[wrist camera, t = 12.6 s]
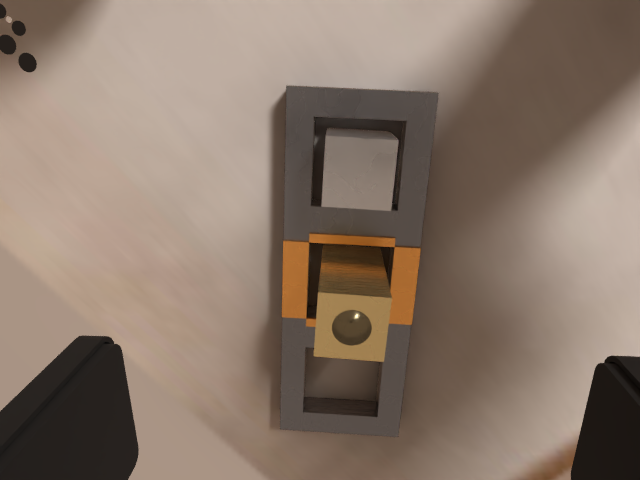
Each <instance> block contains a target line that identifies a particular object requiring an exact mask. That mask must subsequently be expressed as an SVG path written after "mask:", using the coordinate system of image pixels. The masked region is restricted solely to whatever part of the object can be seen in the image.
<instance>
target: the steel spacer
mask: <svg viewBox="0 0 640 480" xmlns="http://www.w3.org/2000/svg"><path fill="white" fill-rule="evenodd" d="M398 142H399V140H398V139H397V138H396V137H395V136H394V135H393V134H392V133H391V132H390V131H377V130H361V129H344V128H327V132H326V136H325V153H324V171H323V188H322V205H321V207H336V208H351V209H367V210H383V211H391V207H392V198H393V188H394V179H395V170H396V160H397V151H398Z"/></svg>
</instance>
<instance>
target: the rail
mask: <svg viewBox="0 0 640 480" xmlns="http://www.w3.org/2000/svg"><path fill="white" fill-rule="evenodd" d="M437 102H438V93H437V92H421V91H399V90H377V89H355V88H333V87H310V86H286V138H285V192H284V240H283V282H282V353H281V407H280V429H283V430H298V431H313V432H329V433H344V434H360V435H375V436H390V437H398V433H399V425H400V416H401V408H402V399H403V391H404V382H405V374H406V365H407V357H408V348H409V340H410V331H411V325H412V319H413V311H414V302H415V294H416V285H417V277H418V268H419V260H420V251H421V248H420V246H421V238H422V229H423V221H424V212H425V204H426V195H427V187H428V178H429V170H430V161H431V153H432V144H433V136H434V127H435V119H436V110H437ZM315 117H333V118H354V119H376V120H397V121H403V124H402V134H401V145H400V155H399V165H398V176H397V186H396V197H395V204H392V207H391V211H383V210H367V209H351V208H336V207H321V205H322V200H312V192H313V166H314V139H315ZM311 243H328V244H346V245H365V246H383V247H391V249H390V259H389V269H388V283H389V287H390V292H391V296H392V302H391V310H390V318H389V326H388V334H387V342H386V350H385V358H384V362H380V363H379V373H378V384H377V394H376V402H374V401H358V400H342V399H326V398H310V397H305V376H306V350H307V347H308V348H314V343H315V328H316V314H317V306H308V297H309V271H310V244H311Z"/></svg>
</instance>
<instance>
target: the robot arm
mask: <svg viewBox="0 0 640 480" xmlns="http://www.w3.org/2000/svg"><path fill="white" fill-rule="evenodd" d="M137 458H138V442H137V437H136V430H135V425H134V420H133V413H132V407H131V402H130V396H129V390H128V384H127V378H126V372H125V366H124V360H123V354H122V350H121V347H120V346H119V345H118V344H114V341H113V340H112V338H110V337H107V336H79V337H78V338H76V339H75V340H74V341H73V342H72V343H71V344H70V345H69V346H68V347H67V348H66V349H65V350H63V352H61V354H60V355H58V356H57V357H56V358H55V359H54V360H53V361H52V362H51V363H50V364H49V365H48V366H47V367H46V368H45V369H44V370H43V371H42V372H41V373H40V374H39V375H38V376H37V377H35V378H34V379H33V380H32V382H30V383H29V384H28V385H27V386H26V387H25V388H24V389H23V390H22V391H21V392H20V393H19V394H18V395H17V396H16V397H15V398H14V399H13V400H12V401H11V402H10V403H9V404H8V405H6V406H5V407H4V408H3V409H2V410H1V411H0V480H128V478H129V476H130V475H131V473H132V471H133V469H134V467H135V465H136V462H137ZM571 480H640V357H631V356H609V357H607V359H606V360H605V362H604V363H600V364H598V365H597V366H596V368H595V371H594V375H593V380H592V384H591V388H590V393H589V397H588V401H587V405H586V410H585V414H584V418H583V423H582V427H581V431H580V435H579V440H578V444H577V448H576V453H575V457H574V461H573V465H572V470H571Z"/></svg>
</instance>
